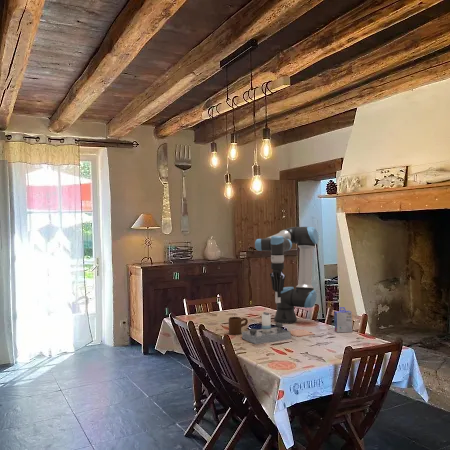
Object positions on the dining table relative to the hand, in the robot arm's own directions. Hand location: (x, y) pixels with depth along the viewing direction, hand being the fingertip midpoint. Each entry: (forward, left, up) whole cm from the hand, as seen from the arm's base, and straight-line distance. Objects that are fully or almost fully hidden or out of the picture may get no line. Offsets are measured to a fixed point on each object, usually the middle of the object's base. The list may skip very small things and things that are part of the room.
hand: (278, 302), depth 262 cm
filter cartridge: (0, -8, -20) cm, 22 cm away
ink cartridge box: (+8, +43, -20) cm, 48 cm away
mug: (-20, -15, -20) cm, 32 cm away
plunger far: (0, +1, -17) cm, 17 cm away
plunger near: (0, -17, -19) cm, 26 cm away
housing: (0, -8, -20) cm, 22 cm away
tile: (0, +16, -20) cm, 25 cm away
